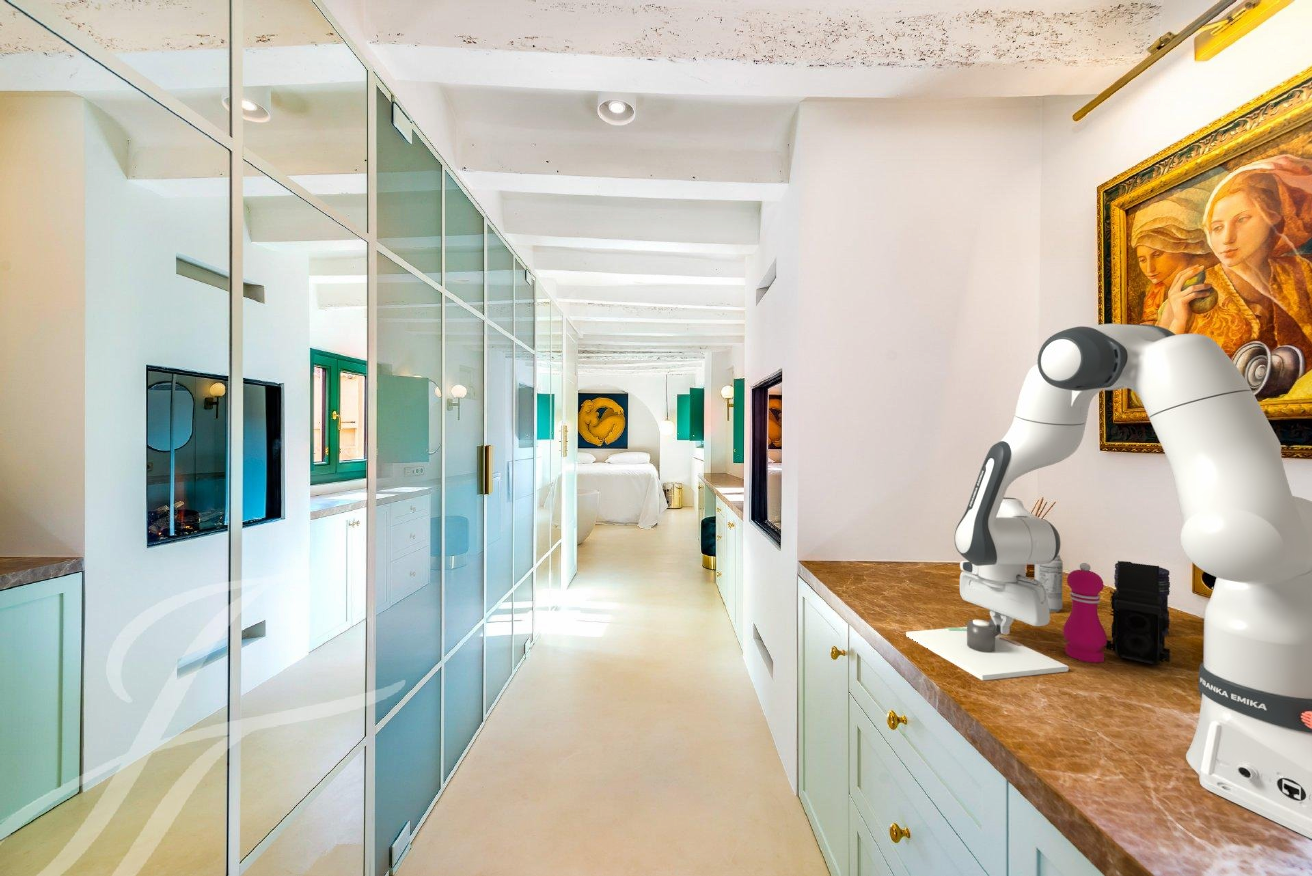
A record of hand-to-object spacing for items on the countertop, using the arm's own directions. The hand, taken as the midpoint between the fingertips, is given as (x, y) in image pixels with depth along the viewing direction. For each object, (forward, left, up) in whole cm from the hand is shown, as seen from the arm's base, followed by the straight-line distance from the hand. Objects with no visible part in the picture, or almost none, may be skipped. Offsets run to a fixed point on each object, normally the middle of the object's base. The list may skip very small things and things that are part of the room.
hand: (1001, 632), depth 114 cm
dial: (+1, +3, -2) cm, 4 cm away
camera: (-10, -24, -4) cm, 26 cm away
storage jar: (+3, -43, -4) cm, 43 cm away
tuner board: (-1, +6, -3) cm, 7 cm away
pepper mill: (-7, -14, -4) cm, 16 cm away
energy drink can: (+19, -34, -4) cm, 39 cm away
